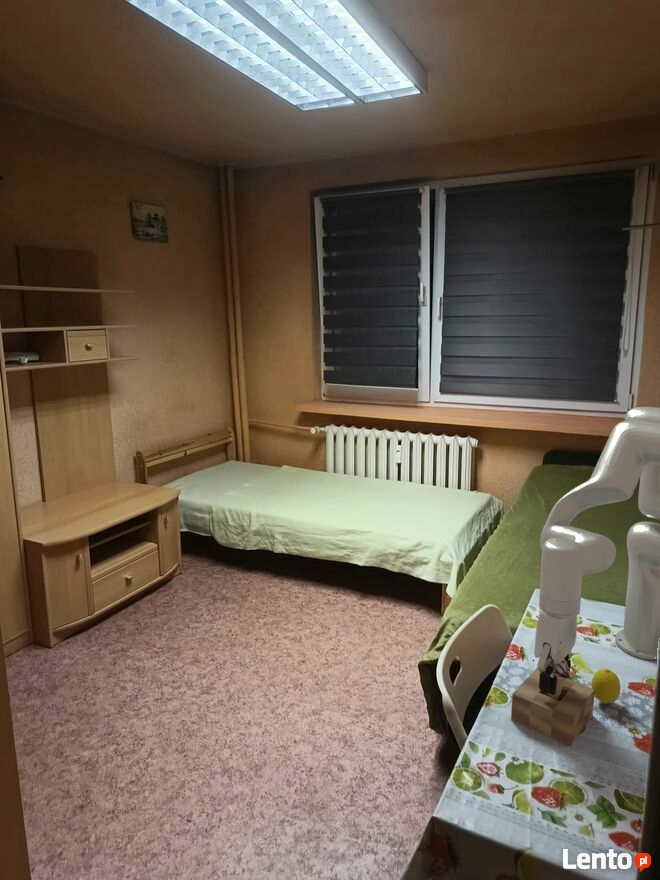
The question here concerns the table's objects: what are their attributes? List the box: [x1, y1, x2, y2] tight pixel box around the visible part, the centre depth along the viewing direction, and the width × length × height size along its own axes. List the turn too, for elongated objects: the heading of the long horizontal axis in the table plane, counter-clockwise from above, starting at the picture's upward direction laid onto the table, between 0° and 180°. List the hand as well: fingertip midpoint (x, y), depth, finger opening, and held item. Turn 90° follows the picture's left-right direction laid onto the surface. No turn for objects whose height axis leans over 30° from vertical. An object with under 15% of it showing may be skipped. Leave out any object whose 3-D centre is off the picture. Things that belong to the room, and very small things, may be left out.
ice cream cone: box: [547, 656, 571, 700], centre depth 121 cm, size 6×6×15 cm
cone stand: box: [510, 667, 595, 748], centre depth 122 cm, size 12×12×6 cm
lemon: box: [591, 668, 621, 705], centre depth 126 cm, size 6×6×8 cm
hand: (554, 682), depth 121 cm, fingers open, 6 cm apart
